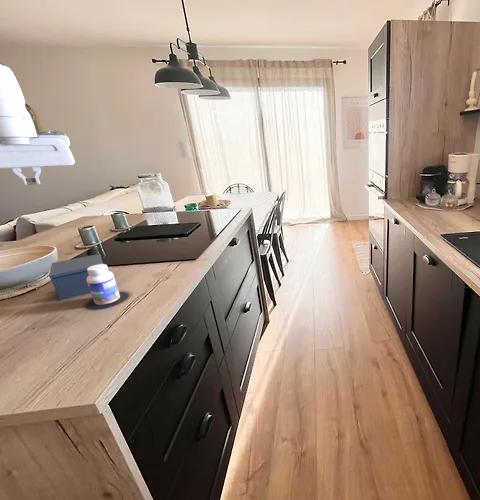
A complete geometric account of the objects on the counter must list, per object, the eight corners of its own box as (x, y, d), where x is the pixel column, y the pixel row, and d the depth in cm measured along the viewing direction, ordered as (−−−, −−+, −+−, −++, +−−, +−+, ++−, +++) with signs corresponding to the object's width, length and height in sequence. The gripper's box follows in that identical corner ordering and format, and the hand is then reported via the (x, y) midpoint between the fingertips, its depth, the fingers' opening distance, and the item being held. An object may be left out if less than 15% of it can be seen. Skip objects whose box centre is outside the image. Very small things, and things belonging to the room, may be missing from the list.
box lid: (102, 267, 80) (101, 264, 80) (49, 278, 73) (48, 275, 73) (100, 256, 89) (99, 253, 89) (53, 265, 82) (52, 263, 82)
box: (110, 289, 83) (103, 267, 81) (60, 302, 77) (50, 279, 74) (107, 276, 91) (100, 256, 89) (61, 286, 85) (53, 265, 82)
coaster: (80, 314, 71) (79, 312, 71) (94, 297, 79) (94, 295, 79) (123, 306, 74) (123, 305, 74) (133, 291, 82) (132, 289, 82)
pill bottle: (89, 304, 75) (76, 270, 71) (110, 293, 80) (99, 261, 76) (105, 306, 74) (93, 272, 70) (125, 296, 78) (115, 263, 75)
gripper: (66, 131, 83) (82, 180, 88) (-48, 129, 70) (-21, 187, 75) (66, 130, 78) (83, 182, 83) (-56, 128, 65) (-27, 189, 70)
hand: (33, 184), depth 79 cm, fingers closed
